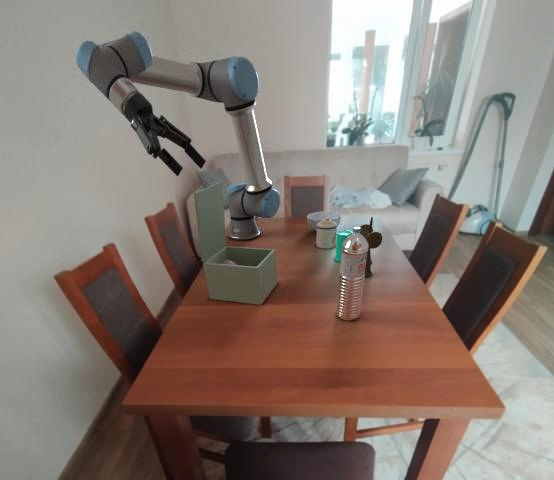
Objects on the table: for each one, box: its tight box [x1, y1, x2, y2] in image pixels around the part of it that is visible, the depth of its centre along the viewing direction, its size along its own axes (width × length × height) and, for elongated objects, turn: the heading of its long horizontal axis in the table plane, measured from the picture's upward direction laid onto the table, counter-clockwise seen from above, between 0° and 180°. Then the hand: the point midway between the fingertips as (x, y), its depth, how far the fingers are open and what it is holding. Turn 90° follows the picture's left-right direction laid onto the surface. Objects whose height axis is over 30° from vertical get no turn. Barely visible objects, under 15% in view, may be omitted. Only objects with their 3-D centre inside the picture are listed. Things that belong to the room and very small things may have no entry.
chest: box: [202, 245, 278, 306], centre depth 111 cm, size 19×17×12 cm
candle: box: [334, 229, 353, 263], centre depth 130 cm, size 6×6×12 cm
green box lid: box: [193, 181, 227, 263], centre depth 103 cm, size 20×17×1 cm
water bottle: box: [336, 226, 369, 322], centre depth 90 cm, size 7×7×25 cm
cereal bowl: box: [306, 210, 342, 232], centre depth 164 cm, size 17×17×7 cm
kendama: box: [359, 216, 383, 278], centre depth 114 cm, size 6×10×20 cm, turn 10°
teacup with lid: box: [315, 218, 338, 250], centre depth 145 cm, size 12×9×12 cm
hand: (192, 168), depth 95 cm, fingers open, 13 cm apart
